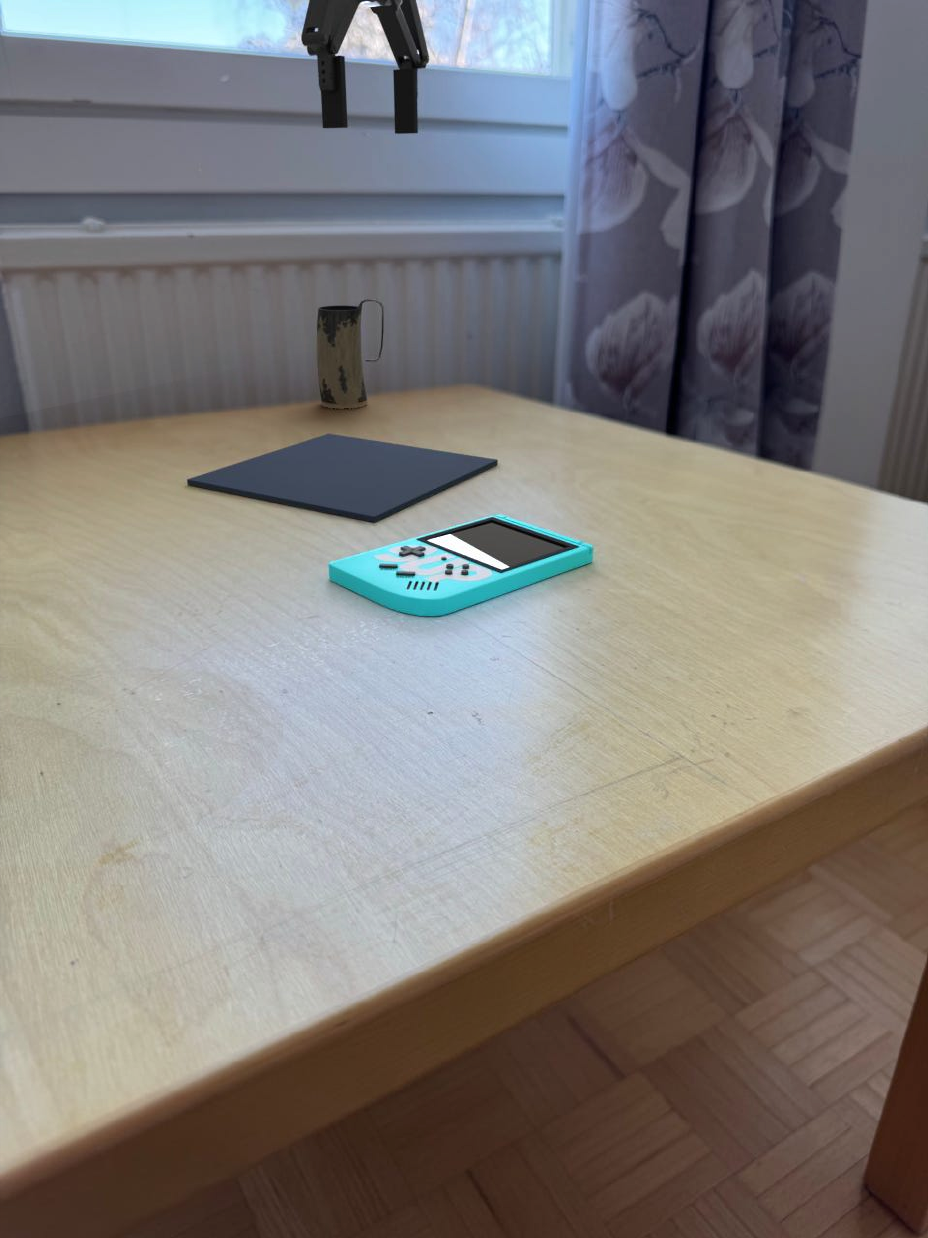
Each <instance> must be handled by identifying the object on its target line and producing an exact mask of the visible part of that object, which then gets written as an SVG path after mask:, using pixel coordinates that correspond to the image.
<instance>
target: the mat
mask: <svg viewBox="0 0 928 1238" xmlns="http://www.w3.org/2000/svg"><path fill="white" fill-rule="evenodd" d="M498 461H499V460H498V459H495V458H489V457H483V456H477V455H471V454H465V453H464V454H463V453H458V452H451V451H445V450H438V449H431V448H425V447H418V446H412V445H407V444H400V443H399V444H398V443H392V442H385V441H380V440H374V439H367V438H361V437H353V436H347V435H340V434H335V433H326V434H323V435H319V436H317V437H313V438H310V439H307V440H304V441H301V442H298V443H295V444H292V445H288V446H286V447H285V446H284V447H282V448H280V449H276V450H273V451H270V452H266V453H264V454H261V455H258V456H255V457H252V458H249V459H246V460H243V461H240V462H236V463H233V464H230V465H227V466H224V467H221V468H218V469H215V470H211V471H208V472H206V473H202V474H200V475H196V476H193V477H189V478H187V479H186V484H187V485H188V486H192V487H198V488H201V489H208V490H212V491H217V492H222V493H228V494H232V495H237V496H242V497H246V498H252V499H257V500H261V501H267V502H270V503H271V502H272V503H277V504H281V505H286V506H292V507H296V508H301V509H306V510H311V511H316V512H321V513H325V514H330V515H336V516H341V517H345V518H349V519H350V518H351V519H354V520H355V519H356V520H360V521H366V522H369V523H376V522H378V521H379V522H380V521H381V520H383V519H385V518H387V517H389V516H391V515H394V514H396V513H398V512H400V511H402V510H404V509H406V508H408V507H411V506H413V505H415V504H417V503H419V502H421V501H423V500H425V499H428V498H430V497H431V496H434V495H436V494H438V493H440V492H442V491H445V490H446V489H449V488H451V487H453V486H455V485H457V484H459V483H462V482H464V481H466V480H468V479H470V478H472V477H474V476H476V475H478V474H480V473H482V472H485V471H487V470H489V469H491V468H493V467H495V466H498V463H499V462H498Z"/></svg>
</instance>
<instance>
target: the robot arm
mask: <svg viewBox="0 0 928 1238" xmlns="http://www.w3.org/2000/svg"><path fill="white" fill-rule="evenodd" d="M360 4H361V5H363V6H364V7H367V8H370V11H371V12H372V13H373V14H375V15H376V16H377V18H378V21H379V24H380V26H381V28H382V30H383V32H384V35H385V38H386V40H387V43H388V46H389V48H390V50H391V53H392V56H393V58H394V61H395V63H396V64H397V67H398V69H393V70H392V71H393V73H392V74H393V108H394V112H393V113H394V115H393V116H394V135H396V134H397V135H406V134H407V135H408V134H419V133H418V132H419V122H418V121H419V120H418V117H419V116H418V115H419V114H418V113H419V112H418V97H419V91H418V90H419V87H418V84H419V83H418V82H419V81H418V80H419V79H418V71H419V70H421V69H422V70H423V69H426V68H427V65H428V64H429V62H430V54H429V50H428V46H427V41H426V37H425V33H424V29H423V28H424V27H423V24H422V19H421V15H420V12H419V8H418V2H417V0H309V1H308V5H307V9H306V14H305V18H304V23H303V27H302V31H301V37H300V40H301V43H302V45H303V46H304V47H306V51H307V54H308V56H309V57H316V60H317V78H318V87H319V91H320V101H321V118H322V119H321V123H322V129H348V105H347V104H348V101H347V80H346V78H347V77H346V57H345V56H344V55H338V54H339V52H340V50H341V47H342V45H343V42H344V41H345V38H346V35H347V33H348V31H349V29H350V26H351V25H352V22H353V19H354V17H355V15H356V13H357V10H358V8H359V6H360ZM316 29H317V30H316Z"/></svg>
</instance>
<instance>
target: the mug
mask: <svg viewBox="0 0 928 1238" xmlns="http://www.w3.org/2000/svg"><path fill="white" fill-rule="evenodd" d="M366 302H376V303H377V304H379V306H380V308H381V334H380V335H381V336H380V349H379V353H378V356H377V357H376V358H366V359H365V362H377V361H378V360H379V359H380V358H381V354H382V351H383V345H384V343H383V342H384V331H385V330H384V329H385V328H384V325H385V324H384V322H385V308H384V305H383V303H382V302H381V301H380V300H378V299H377V298H365V299H363V300H361V301H360V303H359V304H358V305H325V306H320V307H319V306H318V308H317V321H316V361H317V377H318V378H317V379H318V388H319V394H320V405H321V407H323V406H324V407H323V408H326V407H328V408H327V409H333V408H335V409H336V410H345V409H344V408H349V409H348V410H351V408H352V409H359V408H362V407H365V405H366V406H368V398H367V392H366V385H365V379H364V369H363V368H364V367H363V356H362V329H361V327H362V326H361V325H362V308H363V304H364V303H366ZM358 407H359V408H358ZM337 408H338V409H337Z"/></svg>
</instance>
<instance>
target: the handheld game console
mask: <svg viewBox="0 0 928 1238" xmlns="http://www.w3.org/2000/svg"><path fill="white" fill-rule="evenodd" d="M593 560H594V546H593V545H592V544H590V543H587V542H584V541H582V540H578V539H576V538H574V537H573V538H572V537H569V536H567V535H563V534H561V533H557V532H555V531H552V530H549V529H547V528H546V529H545V528H542V527H539V526H537V525H534V524H531V523H528V522H524V521H522V520H519V519H516V518H512V517H510V516H507V515H504V514H500V513H499V514H496V513H495V514H493V515H489V516H485V517H482V518H478V519H475V520H472V521H468V522H465V523H460V524H457V525H453V526H451V527H447V528H443V529H440V530H436V531H433V532H429V533H426V534H423V535H418V536H415V537H412V538H409V539H405V540H402V541H399V542H395V543H391V544H388V545H384V546H381V547H378V548H374V549H371V550H366V551H363V552H361V553H357V554H354V555H349V556H346V557H342V558H339V559H336V560H331V561H329V562H328V578H329V580H330V581H331V582H333V583H335V584H337V585H339V586H342V587H343V588H346V589H348V590H350V591H352V592H354V593H356V594H358V595H360V596H362V597H364V598H366V599H369V600H371V601H372V602H374V603H376V604H379V605H380V606H383V607H385V608H387V609H391V610H393V611H397V612H399V613H403V614H408V615H413V616H417V617H418V616H419V617H440V616H445V615H450V614H452V613H454V612H458V611H461V610H462V609H466V608H469V607H471V606H474V605H477V604H479V603H480V604H481V603H483V602H485V601H488V600H491V599H494V598H496V597H499V596H503V595H504V594H507V593H511V592H513V591H517V590H518V589H521V588H525V587H527V586H529V585H532V584H535V583H538V582H540V581H543V580H546V579H549V578H552V577H554V576H557V575H560V574H563V573H566V572H568V571H571V570H574V569H577V568H580V567H582V566H585V565H588V564H591V563H592V562H593Z"/></svg>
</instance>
